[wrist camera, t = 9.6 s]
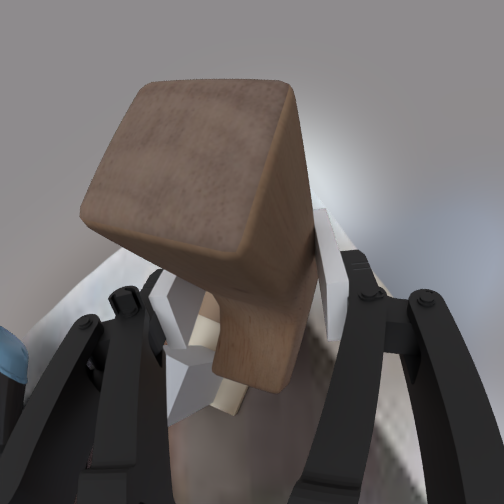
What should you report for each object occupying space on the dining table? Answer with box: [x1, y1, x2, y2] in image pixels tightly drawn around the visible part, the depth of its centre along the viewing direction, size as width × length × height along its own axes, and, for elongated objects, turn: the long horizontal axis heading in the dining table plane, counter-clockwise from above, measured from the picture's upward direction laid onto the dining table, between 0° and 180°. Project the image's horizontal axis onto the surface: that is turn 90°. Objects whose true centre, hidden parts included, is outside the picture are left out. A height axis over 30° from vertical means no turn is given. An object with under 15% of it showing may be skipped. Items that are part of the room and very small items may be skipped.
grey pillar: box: [163, 345, 223, 427], centre depth 30 cm, size 4×6×14 cm, turn 158°
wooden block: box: [80, 79, 318, 394], centre depth 15 cm, size 9×4×18 cm, turn 164°
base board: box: [188, 291, 249, 416], centre depth 38 cm, size 10×21×4 cm, turn 158°
